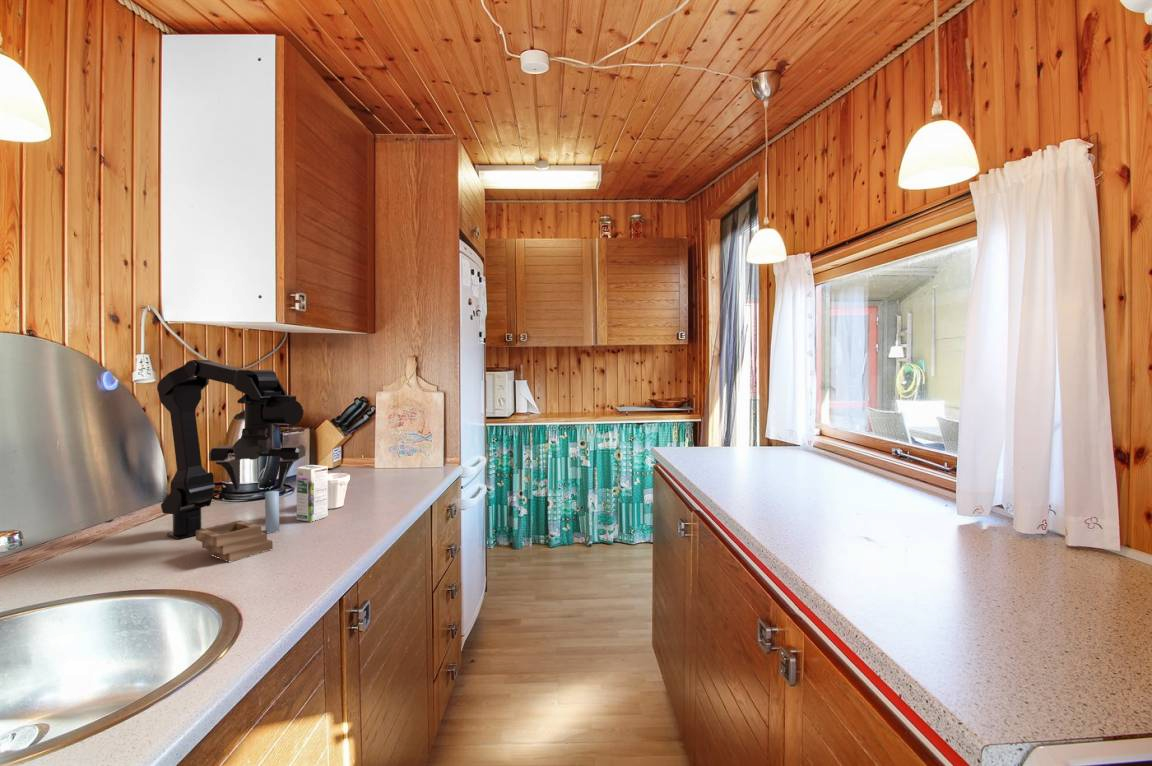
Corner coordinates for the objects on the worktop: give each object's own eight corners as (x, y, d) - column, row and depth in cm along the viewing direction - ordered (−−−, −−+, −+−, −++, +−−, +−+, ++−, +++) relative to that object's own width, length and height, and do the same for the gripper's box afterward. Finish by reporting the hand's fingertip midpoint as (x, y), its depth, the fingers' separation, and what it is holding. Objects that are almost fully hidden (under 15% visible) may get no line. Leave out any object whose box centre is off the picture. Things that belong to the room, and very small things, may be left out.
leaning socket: (196, 558, 111) (195, 530, 111) (251, 542, 121) (250, 517, 121) (217, 566, 107) (216, 537, 107) (272, 549, 117) (272, 523, 117)
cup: (340, 511, 148) (340, 480, 148) (306, 511, 148) (306, 479, 148) (356, 502, 158) (355, 473, 158) (323, 502, 158) (323, 472, 158)
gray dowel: (263, 532, 129) (262, 492, 129) (275, 528, 132) (274, 490, 132) (269, 533, 128) (269, 494, 128) (281, 530, 131) (281, 491, 130)
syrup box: (295, 520, 140) (294, 467, 139) (314, 514, 145) (313, 463, 145) (310, 522, 138) (310, 468, 137) (329, 516, 143) (328, 465, 143)
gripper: (196, 427, 111) (196, 498, 111) (290, 427, 114) (290, 496, 115) (220, 421, 122) (220, 486, 122) (306, 421, 125) (305, 484, 126)
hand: (258, 488), depth 121 cm, fingers open, 9 cm apart
